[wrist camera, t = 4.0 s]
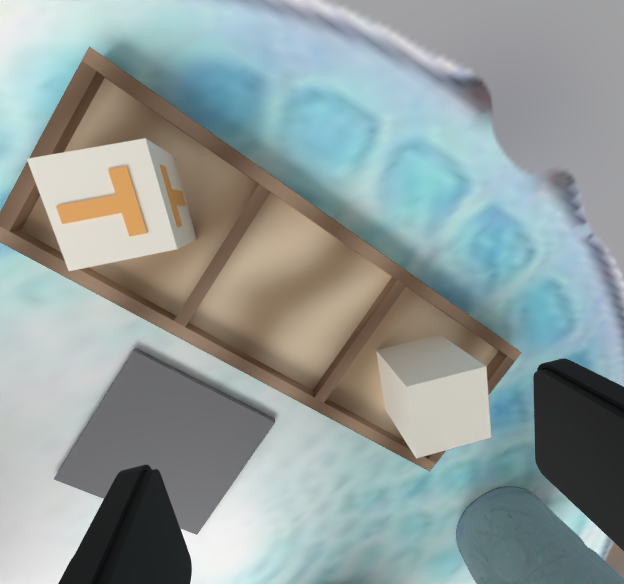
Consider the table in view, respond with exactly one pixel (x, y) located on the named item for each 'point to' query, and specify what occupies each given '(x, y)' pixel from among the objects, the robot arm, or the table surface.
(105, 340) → the table surface
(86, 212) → the letter block
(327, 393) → the tray board
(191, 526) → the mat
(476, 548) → the grey green pot
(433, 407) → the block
